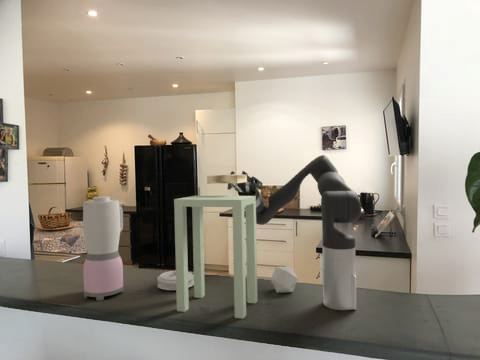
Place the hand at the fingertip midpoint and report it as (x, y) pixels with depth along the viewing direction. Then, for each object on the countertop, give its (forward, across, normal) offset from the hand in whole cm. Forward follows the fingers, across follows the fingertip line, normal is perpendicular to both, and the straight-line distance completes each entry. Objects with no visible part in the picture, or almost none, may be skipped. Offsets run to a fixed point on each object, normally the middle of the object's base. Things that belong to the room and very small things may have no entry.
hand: (237, 173), depth 128 cm
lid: (-12, +20, -38) cm, 45 cm away
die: (-16, -17, -36) cm, 43 cm away
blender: (-2, +39, -44) cm, 59 cm away
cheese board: (+3, 0, -5) cm, 6 cm away
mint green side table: (-1, -1, -44) cm, 44 cm away
